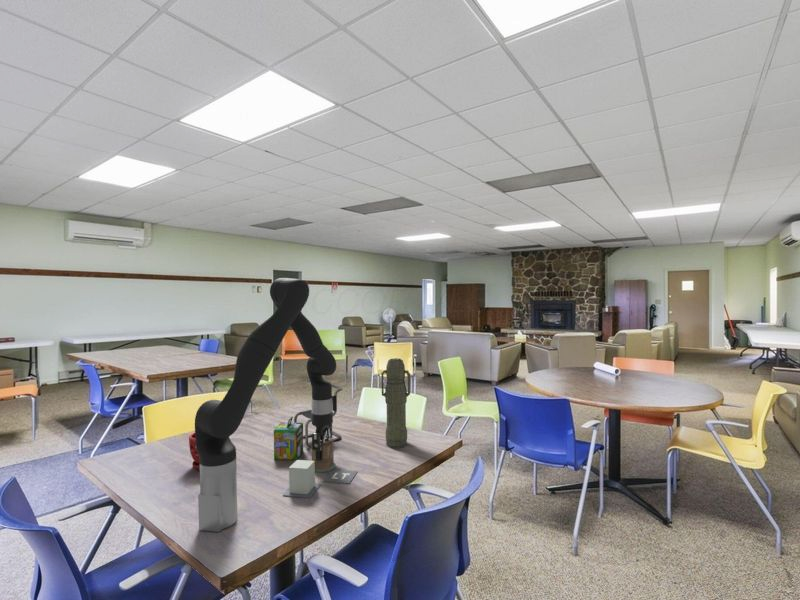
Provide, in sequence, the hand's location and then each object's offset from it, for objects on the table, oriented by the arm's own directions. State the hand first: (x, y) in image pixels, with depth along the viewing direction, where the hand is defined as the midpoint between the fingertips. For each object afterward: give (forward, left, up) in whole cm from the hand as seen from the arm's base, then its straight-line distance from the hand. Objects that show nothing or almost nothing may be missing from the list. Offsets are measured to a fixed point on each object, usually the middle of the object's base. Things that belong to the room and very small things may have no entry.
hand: (322, 456), depth 150 cm
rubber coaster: (0, 0, -4) cm, 4 cm away
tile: (-7, -9, -4) cm, 12 cm away
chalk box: (+8, +17, -4) cm, 19 cm away
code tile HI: (-18, 0, -4) cm, 18 cm away
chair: (+26, +12, -4) cm, 29 cm away
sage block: (-18, 0, -3) cm, 18 cm away
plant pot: (-5, +42, -4) cm, 42 cm away
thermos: (+26, -22, -4) cm, 34 cm away
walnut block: (0, 0, -3) cm, 3 cm away
